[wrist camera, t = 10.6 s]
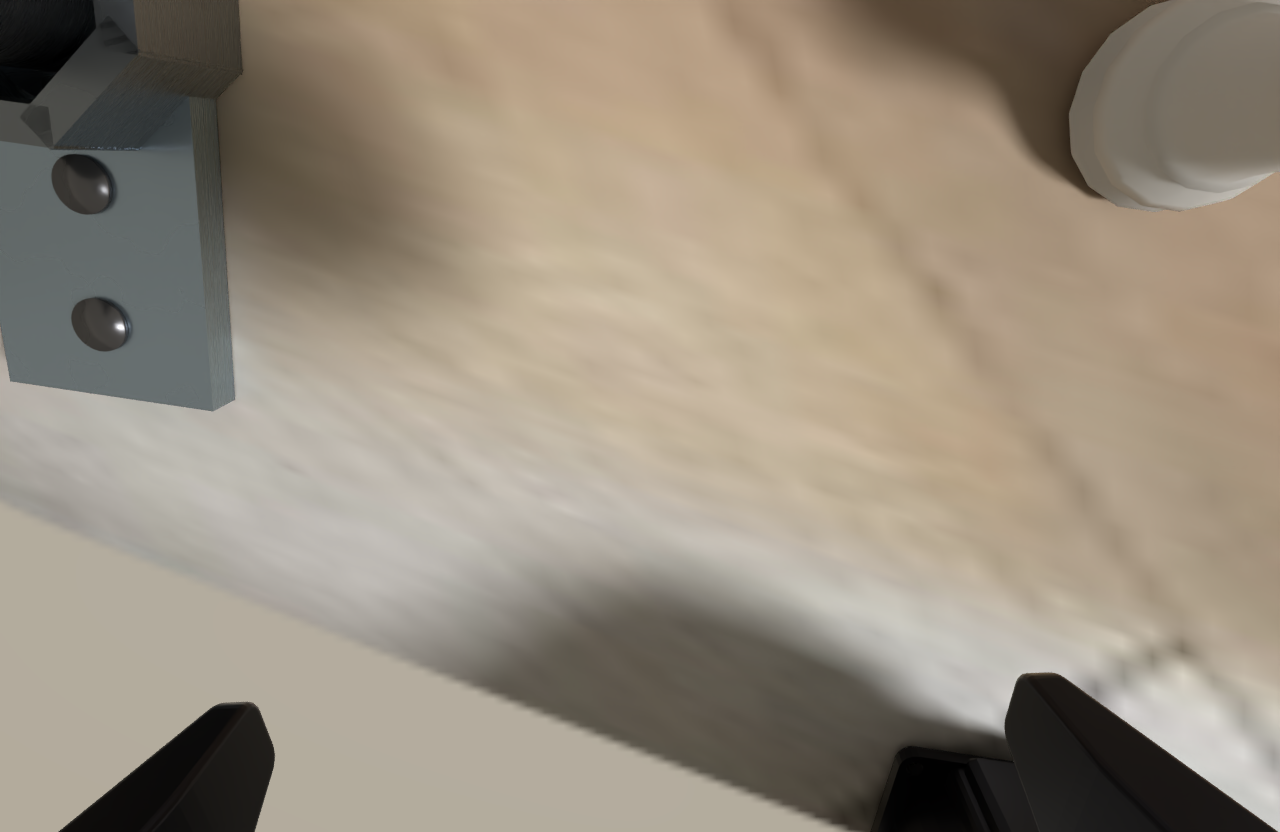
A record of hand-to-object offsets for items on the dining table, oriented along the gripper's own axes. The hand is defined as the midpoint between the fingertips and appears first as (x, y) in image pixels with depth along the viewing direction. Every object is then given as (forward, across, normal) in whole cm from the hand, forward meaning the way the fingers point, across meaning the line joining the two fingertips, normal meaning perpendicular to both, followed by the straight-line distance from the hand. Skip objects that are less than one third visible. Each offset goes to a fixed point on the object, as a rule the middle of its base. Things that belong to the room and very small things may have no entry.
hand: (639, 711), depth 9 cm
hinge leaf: (+14, +13, -5) cm, 20 cm away
